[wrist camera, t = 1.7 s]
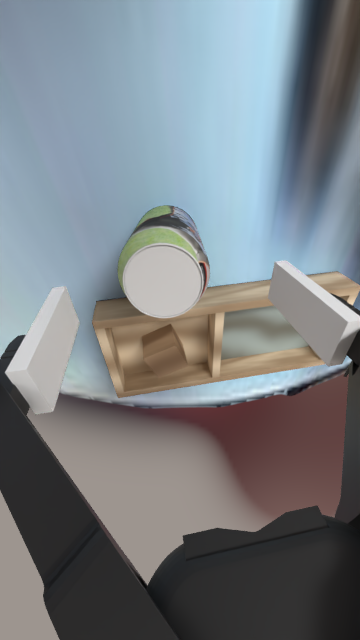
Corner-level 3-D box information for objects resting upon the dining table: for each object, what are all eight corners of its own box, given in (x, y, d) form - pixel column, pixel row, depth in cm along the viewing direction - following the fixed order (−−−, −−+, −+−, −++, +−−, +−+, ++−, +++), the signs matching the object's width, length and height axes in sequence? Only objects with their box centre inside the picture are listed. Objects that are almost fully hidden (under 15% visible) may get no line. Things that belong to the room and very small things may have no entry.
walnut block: (142, 336, 30) (143, 358, 27) (170, 323, 30) (175, 345, 27) (156, 355, 33) (158, 378, 30) (182, 344, 32) (188, 366, 29)
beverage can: (183, 269, 27) (211, 339, 17) (116, 252, 25) (107, 323, 15) (204, 211, 24) (252, 260, 14) (129, 185, 21) (127, 224, 12)
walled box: (96, 301, 28) (91, 322, 24) (337, 271, 30) (361, 286, 27) (119, 374, 35) (118, 397, 32) (308, 345, 38) (324, 364, 35)
